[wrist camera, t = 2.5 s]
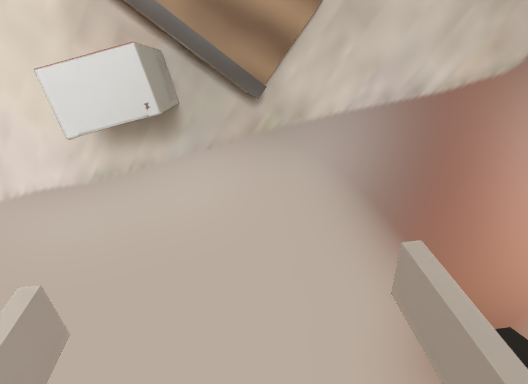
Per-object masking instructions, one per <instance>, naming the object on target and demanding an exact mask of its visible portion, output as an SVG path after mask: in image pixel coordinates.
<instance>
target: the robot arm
mask: <svg viewBox="0 0 528 384" xmlns="http://www.w3.org/2000/svg"><path fill="white" fill-rule="evenodd" d="M391 294H392V296H393V298H394V299H395V301H396V303H397V305H398V306H399V308H400V310H401V312H402V313H403V315H404V317H405V319H406V320H407V322H408V324H409V326H410V327H411V329H412V331H413V333H414V335H415V336H416V338H417V340H418V342H419V343H420V345H421V347H422V349H423V350H424V352H425V354H426V356H427V357H428V359H429V361H430V363H431V364H432V366H433V368H434V370H435V372H436V373H437V375H438V377H439V379H440V380H441V382H442V384H528V340H527V339H526V338H524V337H523V336H522V335H520V334H519V333H517V332H516V331H515V330H513V329H512V328H510V327H508V328H501V329H494V328H493V327H492V325H491V324H490V323H489V322H488V321H487V319H486V318H485V317H484V316H483V315H482V314H481V312H480V311H479V310H478V308H477V307H476V306H475V305H474V304H473V302H472V301H471V300H470V299H469V298H468V296H467V295H466V294H465V293H464V292H463V290H462V289H461V288H460V287H459V285H458V284H457V283H456V282H455V281H454V279H453V278H452V277H451V276H450V275H449V274H448V272H447V271H446V270H445V269H444V268H443V266H442V265H441V264H440V262H439V261H438V260H437V259H436V258H435V256H434V255H433V254H432V253H431V252H430V250H429V249H428V248H427V247H426V245H425V244H424V243H423V242H422V241H421V240H419V241H410V242H402V243H401V247H400V252H399V257H398V263H397V268H396V273H395V277H394V282H393V287H392V292H391ZM69 335H70V334H69V331H68V330H67V328H66V326H65V325H64V323H63V321H62V320H61V318H60V316H59V315H58V313H57V311H56V310H55V308H54V306H53V304H52V303H51V301H50V299H49V298H48V296H47V294H46V293H45V291H44V289H43V288H42V286H41V285H36V286H28V287H19V288H18V289H17V290H16V292H15V293H14V295H13V296H12V297H11V299H10V300H9V301H8V303H7V304H6V305H5V307H4V308H3V309H2V311H1V312H0V384H47V381H48V379H49V377H50V375H51V373H52V371H53V369H54V367H55V365H56V363H57V360H58V358H59V356H60V354H61V352H62V350H63V348H64V346H65V344H66V342H67V340H68V338H69Z"/></svg>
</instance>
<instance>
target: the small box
mask: <svg viewBox="0 0 528 384" xmlns="http://www.w3.org/2000/svg"><path fill="white" fill-rule="evenodd" d="M34 72H35V74H36V76H37V78H38V80H39V82H40V84H41V86H42V88H43V90H44V92H45V95H46V97H47V99H48V101H49V103H50V105H51V107H52V109H53V111H54V113H55V115H56V118H57V120H58V122H59V124H60V126H61V128H62V130H63V132H64V134H65V137H66V138H67V139H68V140H70V139H73V138H76V137H79V136H82V135H85V134H89V133H92V132H95V131H99V130H102V129H106V128H110V127H113V126H117V125H121V124H124V123H128V122H132V121H135V120H139V119H143V118H148V117H152V116H156V115H160V114H162V113H163V112H165V111H167V110H168V109H170V108H171V107H173V106H175V105H176V104H177V103H178V99H177V96H176V93H175V90H174V87H173V84H172V81H171V78H170V75H169V72H168V69H167V66H166V64H165V61H164V58H163V55H162V52H161V51H160V50H157V49H154V48H151V47H148V46H145V45H142V44H138V43H135V42H131V43H127V44H123V45H120V46H116V47H112V48H109V49H105V50H101V51H98V52H94V53H91V54H87V55H83V56H80V57H76V58H72V59H69V60H65V61H62V62H58V63H54V64H51V65H47V66H44V67H40V68H36V69H34Z"/></svg>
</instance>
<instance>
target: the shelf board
mask: <svg viewBox="0 0 528 384" xmlns="http://www.w3.org/2000/svg"><path fill="white" fill-rule="evenodd" d="M124 1H125V2H127V3H128V4H129V5H131V6H132V7H133V8H134V9H136V10H137V11H138V12H140V13H141V14H142V15H144V16H145V17H146V18H148V19H149V20H150V21H152V22H153V23H154V24H156V25H157V26H158V27H160V28H161V29H162V30H164V31H165V32H166V33H168V34H169V35H170V36H172V37H173V38H174V39H176V40H177V41H178V42H180V43H181V44H182V45H184V46H185V47H186V48H188V49H189V50H190V51H192V52H193V53H194V54H196V55H197V56H198V57H200V58H201V59H202V60H204V61H205V62H206V63H208V64H209V65H210V66H212V67H213V68H214V69H216V70H217V71H218V72H220V73H221V74H222V75H224V76H225V77H226V78H228V79H229V80H230V81H232V82H233V83H234V84H236V85H237V86H238V87H240V88H241V89H242V90H244V91H245V92H246V93H248V94H249V93H250V94H251V95H253V96H254V97H255V98H257V99H258V98H259V97H260V95H261V94H262V93H263V91H264V90H265V88H266V86H265V83H266V82H267V80H268V79H269V77H270V76H271V75H272V73H273V72H274V70H275V69H276V67H277V66H278V64H279V63H280V61H281V60H282V59H283V57H284V56H285V54H286V53H287V51H288V50H289V48H290V47H291V46H292V44H293V43H294V41H295V40H296V38H297V37H298V35H299V34H300V32H301V31H302V30H303V28H304V27H305V25H306V24H307V22H308V21H309V19H310V18H311V17H312V15H313V14H314V12H315V11H316V9H317V8H318V6H319V5H320V3H321V2H322V1H323V0H124Z"/></svg>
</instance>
